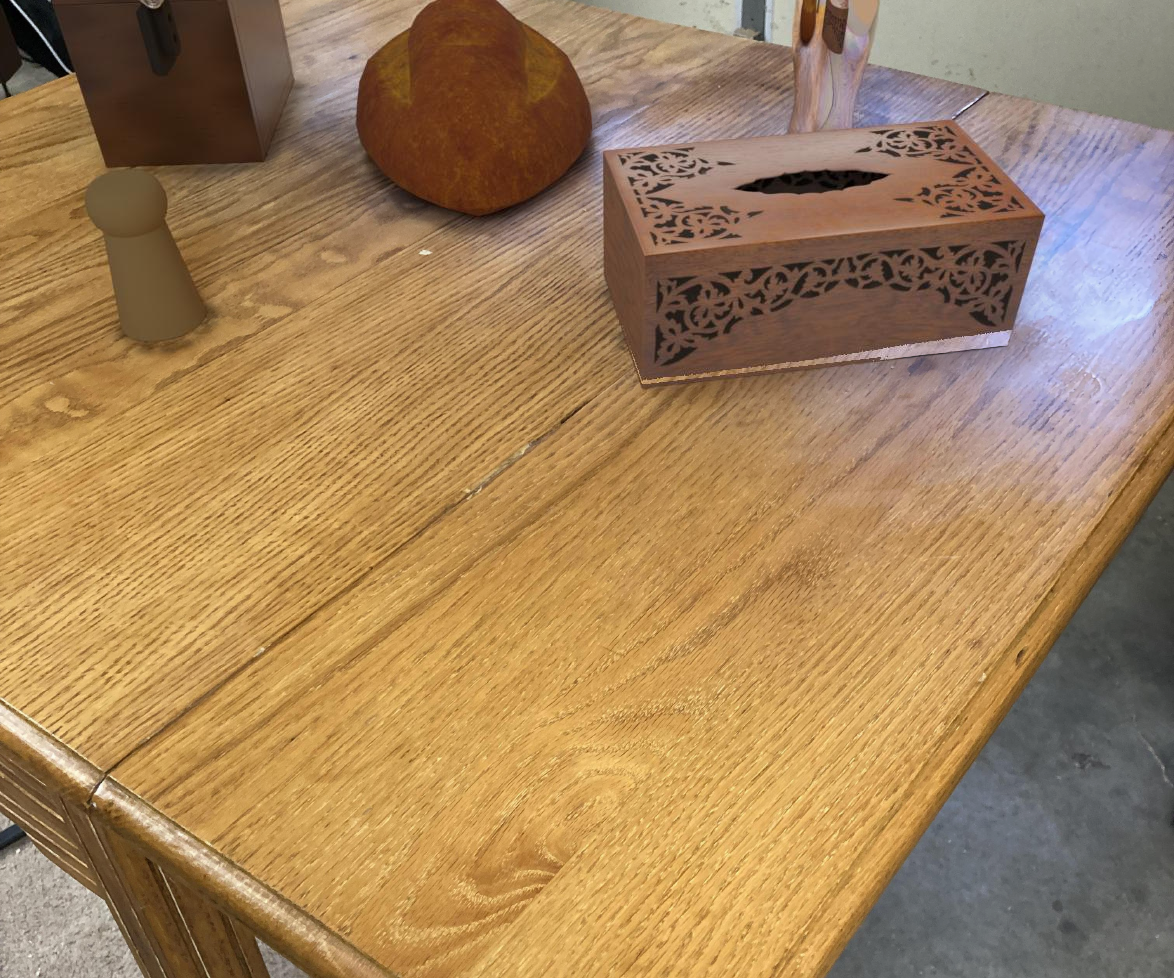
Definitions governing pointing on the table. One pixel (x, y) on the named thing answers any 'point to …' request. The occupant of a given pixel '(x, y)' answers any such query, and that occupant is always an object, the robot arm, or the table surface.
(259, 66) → the bronze square pillar
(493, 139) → the bread
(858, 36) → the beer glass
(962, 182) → the tissue box cover
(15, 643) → the table surface
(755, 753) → the table surface
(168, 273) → the cork
